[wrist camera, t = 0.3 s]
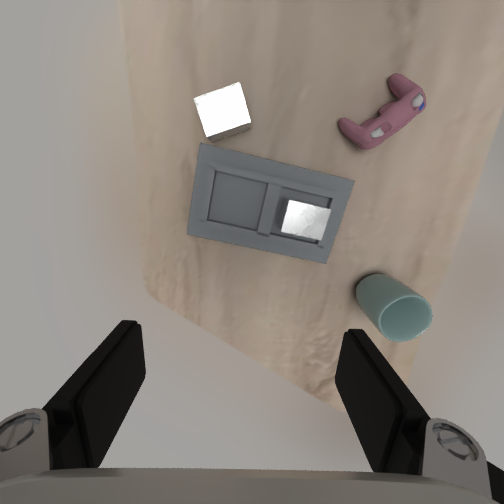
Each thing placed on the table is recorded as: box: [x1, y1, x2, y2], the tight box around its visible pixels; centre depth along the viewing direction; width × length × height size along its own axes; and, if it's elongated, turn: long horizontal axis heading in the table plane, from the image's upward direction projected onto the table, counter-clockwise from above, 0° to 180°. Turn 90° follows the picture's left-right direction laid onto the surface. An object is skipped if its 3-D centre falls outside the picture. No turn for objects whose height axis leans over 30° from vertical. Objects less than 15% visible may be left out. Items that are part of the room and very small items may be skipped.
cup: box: [356, 274, 432, 342], centre depth 38 cm, size 8×8×10 cm
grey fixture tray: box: [187, 143, 355, 264], centre depth 37 cm, size 14×24×2 cm, turn 77°
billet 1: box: [194, 82, 251, 142], centre depth 32 cm, size 4×6×5 cm
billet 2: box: [277, 197, 331, 240], centre depth 35 cm, size 4×6×5 cm
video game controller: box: [338, 73, 426, 150], centre depth 32 cm, size 10×5×7 cm, turn 130°
